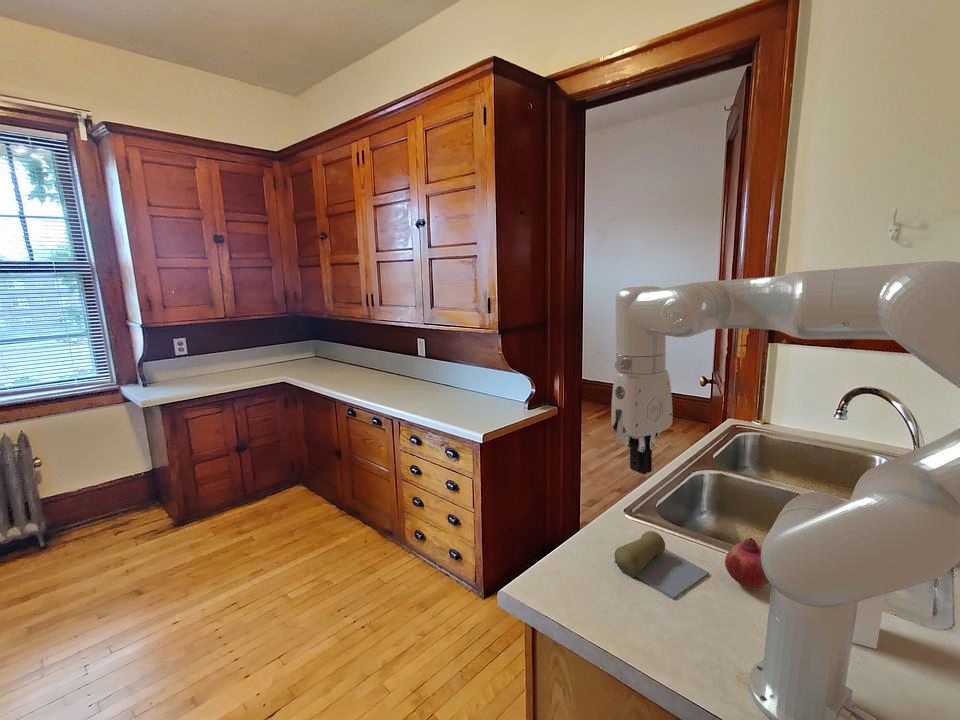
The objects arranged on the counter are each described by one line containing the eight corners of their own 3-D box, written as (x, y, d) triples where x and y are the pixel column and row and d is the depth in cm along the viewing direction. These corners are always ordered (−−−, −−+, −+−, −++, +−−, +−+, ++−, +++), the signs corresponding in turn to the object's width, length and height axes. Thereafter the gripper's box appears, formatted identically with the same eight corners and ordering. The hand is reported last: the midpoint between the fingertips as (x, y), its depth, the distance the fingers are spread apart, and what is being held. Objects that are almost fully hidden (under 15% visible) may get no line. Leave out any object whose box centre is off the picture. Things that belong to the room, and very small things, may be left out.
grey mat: (709, 574, 95) (709, 572, 95) (673, 599, 89) (673, 597, 88) (650, 542, 106) (650, 540, 106) (614, 562, 100) (614, 560, 100)
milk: (831, 638, 78) (846, 518, 74) (824, 613, 84) (837, 500, 79) (877, 649, 76) (896, 526, 71) (867, 623, 81) (883, 507, 77)
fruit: (780, 590, 90) (785, 543, 88) (752, 604, 87) (757, 556, 84) (741, 567, 97) (745, 523, 95) (714, 579, 94) (718, 534, 92)
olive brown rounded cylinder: (641, 581, 93) (671, 558, 100) (638, 552, 93) (668, 531, 99) (616, 570, 98) (646, 549, 105) (612, 543, 98) (643, 523, 104)
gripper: (626, 374, 69) (627, 491, 72) (690, 359, 76) (688, 466, 80) (589, 368, 75) (592, 475, 78) (651, 354, 83) (651, 453, 86)
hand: (640, 470), depth 79 cm, fingers closed
